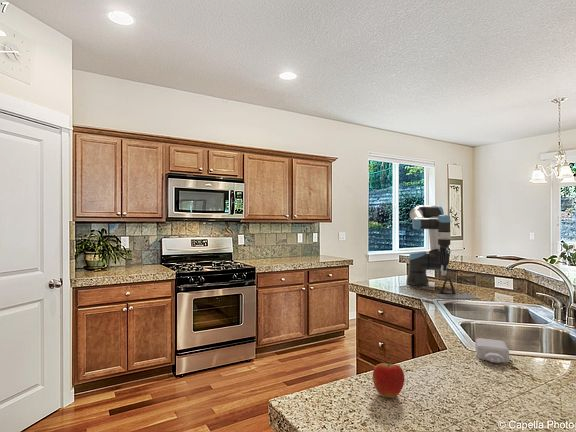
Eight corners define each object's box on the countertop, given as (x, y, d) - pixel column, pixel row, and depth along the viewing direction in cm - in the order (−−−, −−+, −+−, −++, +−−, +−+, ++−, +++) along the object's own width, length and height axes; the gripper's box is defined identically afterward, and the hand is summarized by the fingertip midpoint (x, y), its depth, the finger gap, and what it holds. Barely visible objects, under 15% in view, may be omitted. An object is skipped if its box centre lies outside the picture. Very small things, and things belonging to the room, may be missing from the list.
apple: (370, 400, 95) (370, 361, 95) (374, 386, 103) (375, 350, 103) (403, 405, 92) (403, 365, 92) (405, 391, 100) (405, 354, 100)
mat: (433, 294, 228) (433, 294, 228) (468, 294, 230) (468, 294, 230) (443, 299, 216) (443, 298, 216) (479, 299, 218) (479, 298, 218)
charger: (479, 366, 119) (475, 350, 132) (512, 370, 115) (504, 354, 129) (479, 351, 119) (475, 337, 132) (512, 355, 115) (505, 341, 129)
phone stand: (440, 292, 232) (440, 273, 233) (440, 292, 238) (440, 273, 239) (455, 294, 228) (455, 274, 229) (455, 293, 234) (456, 274, 235)
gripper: (433, 238, 245) (433, 273, 245) (443, 239, 232) (443, 276, 232) (444, 238, 245) (444, 274, 245) (454, 239, 232) (454, 276, 232)
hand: (443, 275), depth 238 cm, fingers closed
